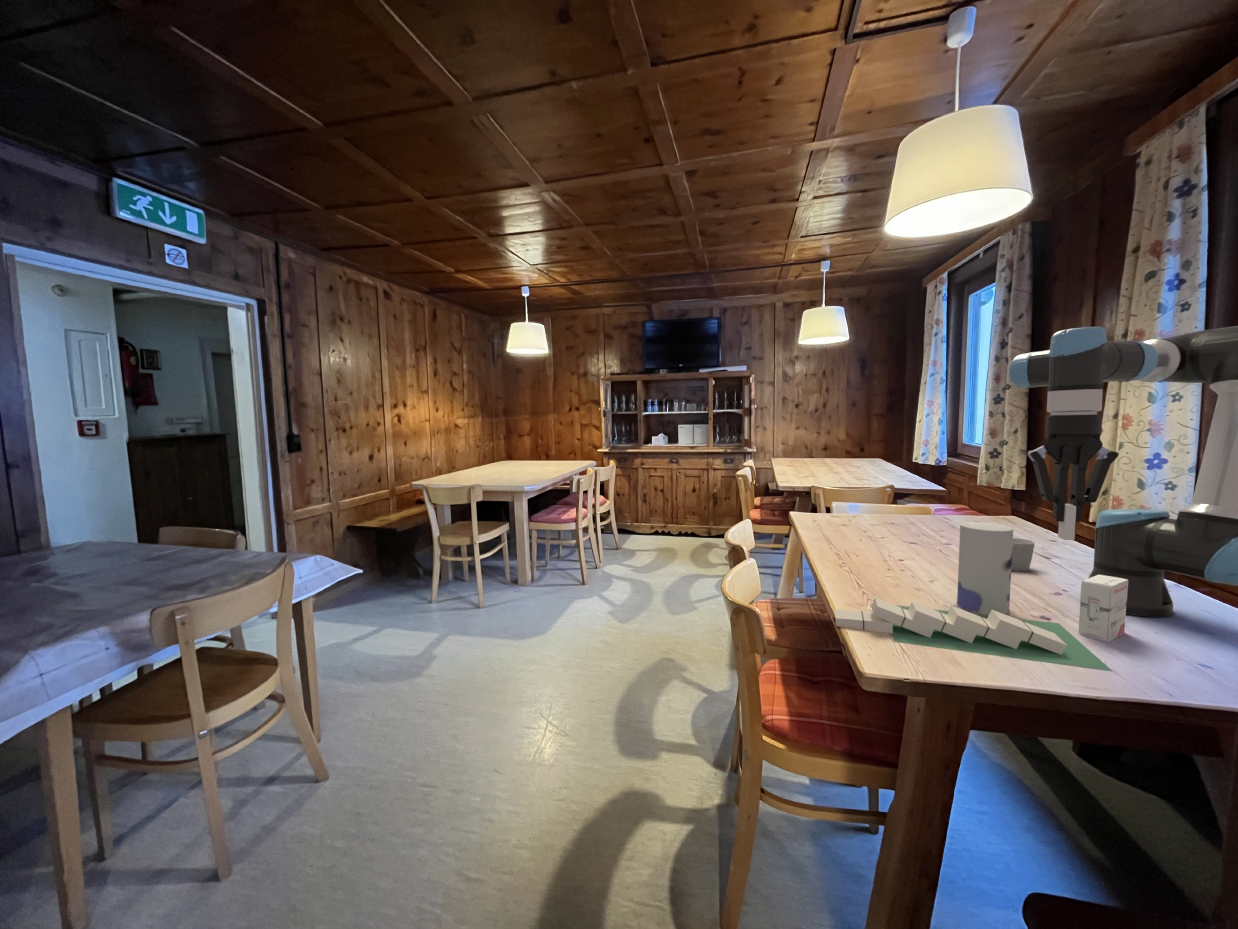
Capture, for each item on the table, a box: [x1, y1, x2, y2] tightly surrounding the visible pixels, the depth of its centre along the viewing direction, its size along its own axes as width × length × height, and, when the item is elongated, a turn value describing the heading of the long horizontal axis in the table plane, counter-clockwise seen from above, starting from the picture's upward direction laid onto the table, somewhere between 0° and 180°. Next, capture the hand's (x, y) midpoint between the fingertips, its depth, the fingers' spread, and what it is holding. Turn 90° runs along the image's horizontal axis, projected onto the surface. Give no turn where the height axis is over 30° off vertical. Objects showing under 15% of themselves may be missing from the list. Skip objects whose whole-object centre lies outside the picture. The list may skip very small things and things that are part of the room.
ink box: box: [1078, 575, 1128, 643], centre depth 101 cm, size 9×5×12 cm, turn 118°
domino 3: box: [908, 601, 976, 643], centre depth 102 cm, size 2×6×11 cm
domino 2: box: [871, 597, 934, 638], centre depth 105 cm, size 2×6×11 cm
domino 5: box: [987, 610, 1067, 655], centre depth 97 cm, size 2×6×11 cm
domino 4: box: [947, 605, 1021, 649], centre depth 100 cm, size 2×6×11 cm
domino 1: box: [834, 608, 893, 634], centre depth 108 cm, size 2×6×11 cm
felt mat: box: [890, 604, 1113, 672], centre depth 103 cm, size 34×22×1 cm, turn 67°
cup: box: [1011, 537, 1036, 572], centre depth 145 cm, size 8×10×8 cm
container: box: [956, 521, 1014, 615], centre depth 116 cm, size 10×10×20 cm
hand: (1066, 538), depth 93 cm, fingers closed
